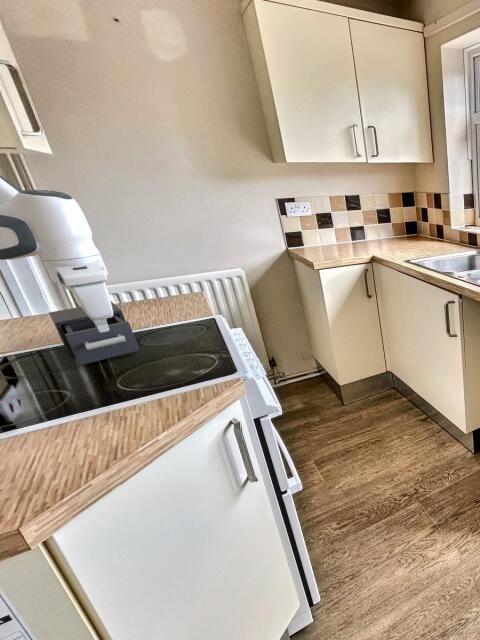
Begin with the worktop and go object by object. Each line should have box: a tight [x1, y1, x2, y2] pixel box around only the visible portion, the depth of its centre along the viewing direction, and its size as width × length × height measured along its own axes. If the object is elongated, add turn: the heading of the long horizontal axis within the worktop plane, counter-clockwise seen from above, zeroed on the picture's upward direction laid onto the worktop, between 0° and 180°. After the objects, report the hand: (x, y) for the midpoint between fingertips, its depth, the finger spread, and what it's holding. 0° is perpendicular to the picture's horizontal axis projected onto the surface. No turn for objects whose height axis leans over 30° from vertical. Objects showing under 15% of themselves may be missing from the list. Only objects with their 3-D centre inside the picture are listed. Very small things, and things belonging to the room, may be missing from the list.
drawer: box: [63, 314, 140, 366], centre depth 105 cm, size 17×11×8 cm
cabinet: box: [48, 300, 127, 359], centre depth 113 cm, size 14×13×10 cm
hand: (103, 330), depth 95 cm, fingers closed
